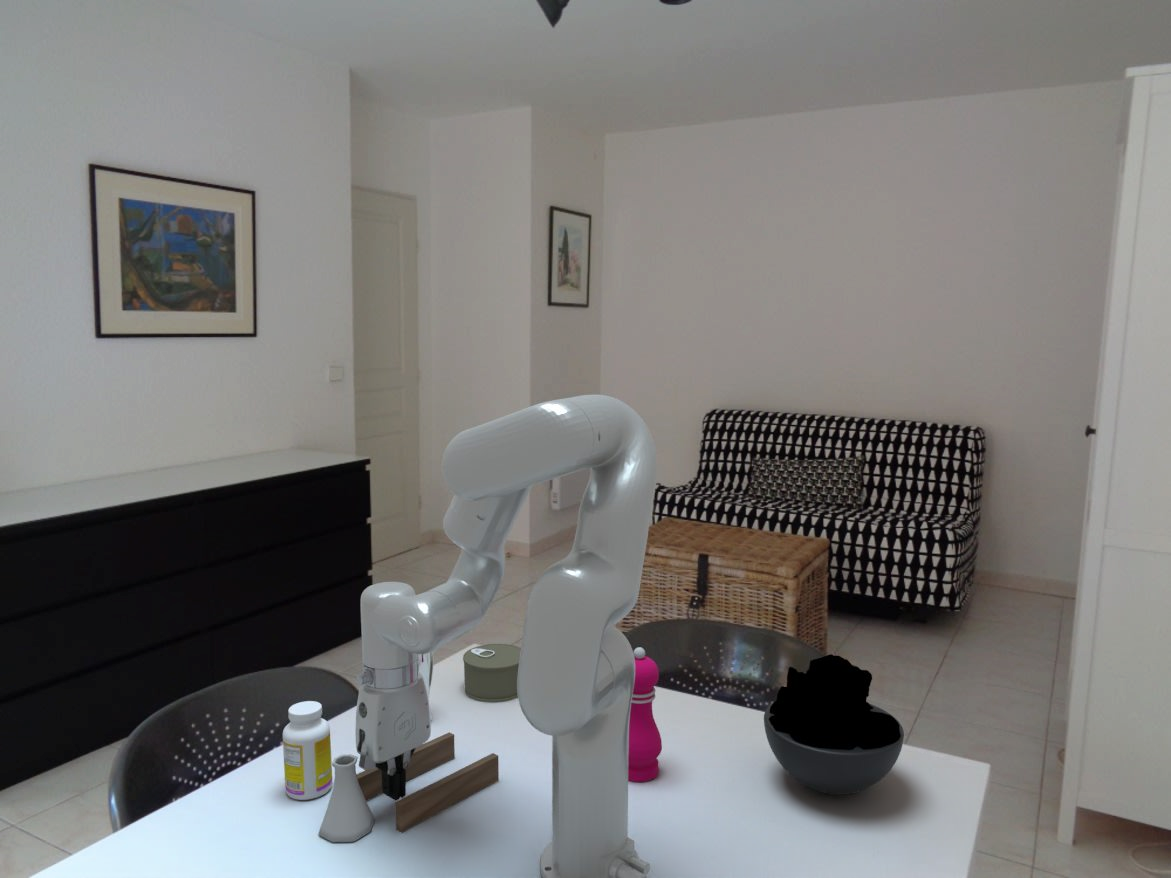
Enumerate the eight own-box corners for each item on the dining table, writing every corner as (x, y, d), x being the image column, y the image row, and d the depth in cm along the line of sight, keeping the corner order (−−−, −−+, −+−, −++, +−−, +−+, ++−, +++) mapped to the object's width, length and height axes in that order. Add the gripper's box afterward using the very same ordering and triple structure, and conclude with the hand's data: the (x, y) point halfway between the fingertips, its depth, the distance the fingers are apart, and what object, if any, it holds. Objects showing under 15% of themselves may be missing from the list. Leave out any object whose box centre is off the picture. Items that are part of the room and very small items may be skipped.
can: (500, 709, 154) (500, 672, 153) (450, 693, 160) (449, 658, 159) (539, 685, 164) (539, 651, 163) (490, 672, 170) (490, 639, 169)
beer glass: (390, 716, 151) (387, 634, 149) (428, 708, 153) (427, 628, 152) (398, 732, 144) (396, 647, 142) (439, 725, 147) (437, 641, 145)
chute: (498, 780, 129) (498, 755, 129) (401, 832, 116) (400, 805, 115) (449, 755, 137) (449, 732, 136) (353, 802, 123) (352, 776, 123)
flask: (356, 848, 112) (354, 777, 111) (308, 839, 114) (305, 768, 113) (384, 818, 119) (382, 751, 118) (338, 810, 121) (336, 743, 120)
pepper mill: (606, 776, 130) (607, 651, 128) (626, 756, 137) (627, 636, 134) (650, 788, 127) (651, 660, 124) (668, 766, 133) (670, 644, 131)
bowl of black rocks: (895, 761, 135) (901, 647, 133) (906, 833, 116) (913, 701, 113) (766, 745, 140) (769, 635, 138) (757, 810, 121) (760, 684, 119)
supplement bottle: (332, 775, 131) (328, 695, 129) (333, 797, 124) (330, 714, 123) (285, 782, 129) (282, 701, 127) (284, 805, 122) (280, 720, 121)
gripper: (361, 696, 111) (366, 828, 113) (449, 662, 122) (451, 782, 125) (328, 681, 116) (333, 808, 118) (415, 650, 127) (418, 766, 129)
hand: (394, 794), depth 121 cm, fingers closed
